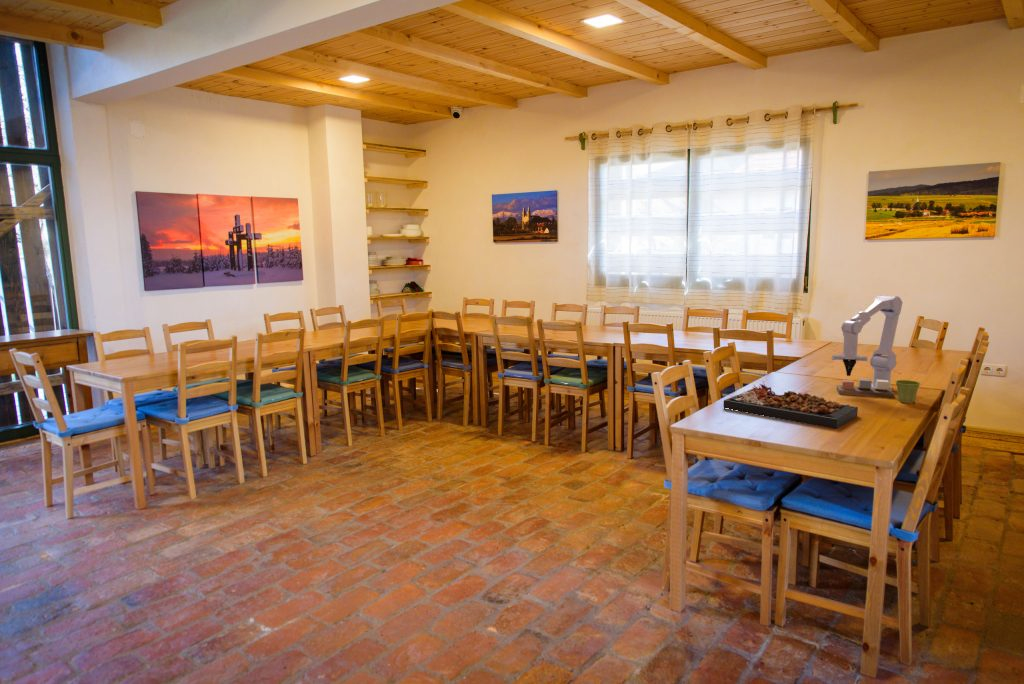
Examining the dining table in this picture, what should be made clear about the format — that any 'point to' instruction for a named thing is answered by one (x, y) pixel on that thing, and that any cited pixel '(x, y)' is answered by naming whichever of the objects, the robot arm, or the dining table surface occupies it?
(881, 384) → the ivory key
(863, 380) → the slate key
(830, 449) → the dining table surface
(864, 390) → the brown flat board
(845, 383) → the brick key
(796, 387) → the dining table surface
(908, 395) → the plant pot
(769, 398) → the food platter
